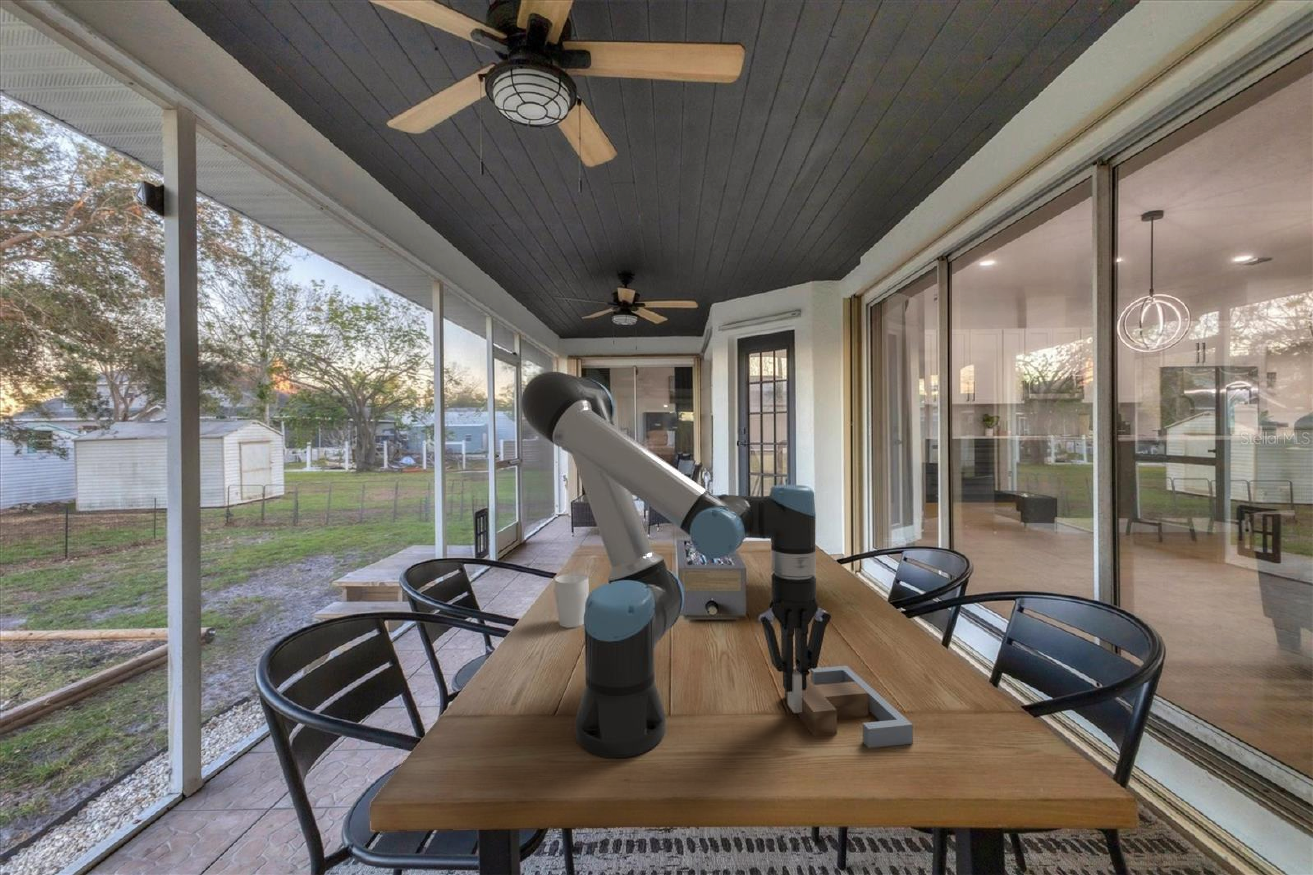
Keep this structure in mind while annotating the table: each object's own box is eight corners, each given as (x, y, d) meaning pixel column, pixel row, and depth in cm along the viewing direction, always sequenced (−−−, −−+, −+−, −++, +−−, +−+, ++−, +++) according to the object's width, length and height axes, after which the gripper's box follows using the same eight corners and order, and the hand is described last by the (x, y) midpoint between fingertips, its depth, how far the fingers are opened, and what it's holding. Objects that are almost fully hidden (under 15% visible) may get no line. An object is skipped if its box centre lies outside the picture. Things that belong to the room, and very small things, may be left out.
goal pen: (868, 748, 76) (868, 729, 76) (810, 683, 96) (810, 668, 96) (913, 743, 77) (912, 724, 77) (846, 680, 97) (846, 665, 97)
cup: (553, 619, 131) (552, 575, 131) (586, 615, 134) (585, 572, 134) (556, 632, 122) (556, 584, 122) (592, 627, 125) (591, 581, 125)
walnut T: (813, 736, 79) (813, 711, 79) (784, 697, 91) (784, 676, 91) (881, 729, 81) (881, 705, 81) (844, 691, 92) (844, 671, 92)
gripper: (765, 582, 80) (767, 724, 80) (839, 578, 82) (840, 717, 82) (750, 569, 87) (752, 700, 87) (818, 566, 89) (819, 693, 89)
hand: (794, 708), depth 85 cm, fingers closed
